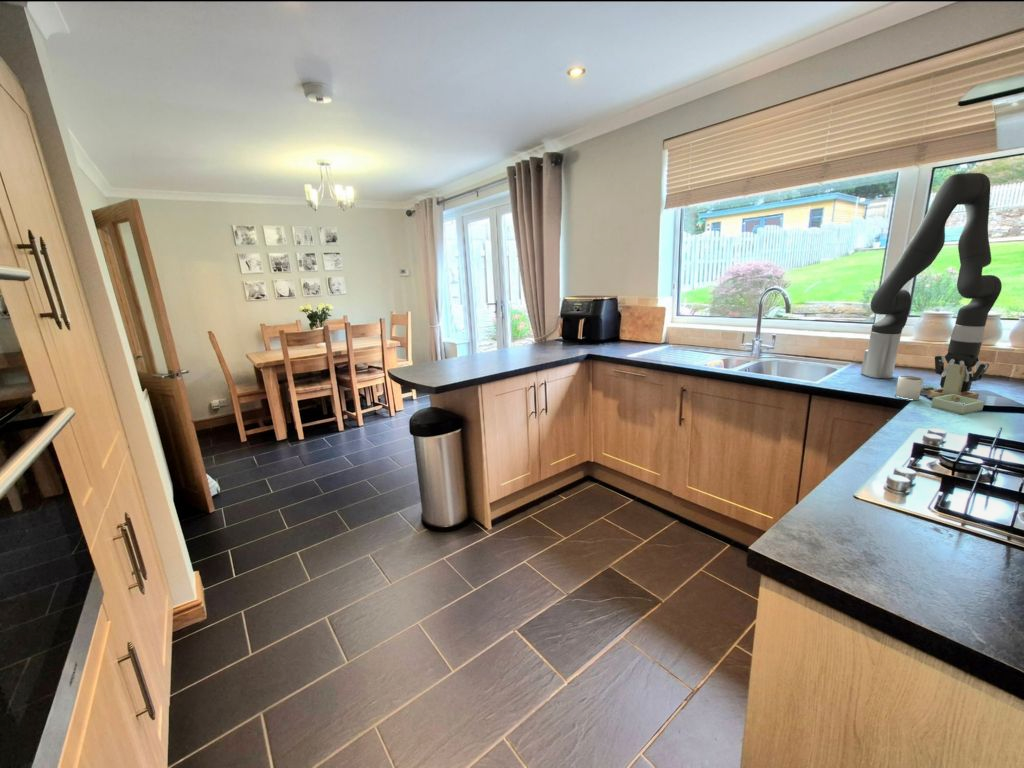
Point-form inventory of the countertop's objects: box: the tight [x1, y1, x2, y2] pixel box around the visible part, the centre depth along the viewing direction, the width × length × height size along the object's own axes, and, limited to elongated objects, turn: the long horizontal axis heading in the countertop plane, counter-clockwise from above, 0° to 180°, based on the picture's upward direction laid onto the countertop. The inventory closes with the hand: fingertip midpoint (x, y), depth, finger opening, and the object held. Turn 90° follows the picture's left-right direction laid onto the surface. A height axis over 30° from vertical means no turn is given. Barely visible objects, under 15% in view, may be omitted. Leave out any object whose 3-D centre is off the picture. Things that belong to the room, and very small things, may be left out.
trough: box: [930, 394, 985, 416], centre depth 151 cm, size 8×10×3 cm
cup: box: [894, 374, 924, 401], centre depth 161 cm, size 6×6×7 cm
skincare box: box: [942, 364, 968, 396], centre depth 158 cm, size 6×4×12 cm
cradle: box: [921, 386, 980, 402], centre depth 162 cm, size 14×11×2 cm
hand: (953, 389), depth 159 cm, fingers closed on skincare box, 5 cm apart
